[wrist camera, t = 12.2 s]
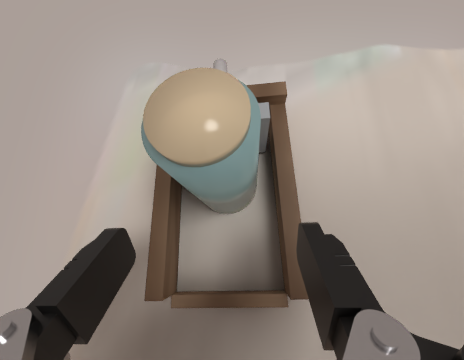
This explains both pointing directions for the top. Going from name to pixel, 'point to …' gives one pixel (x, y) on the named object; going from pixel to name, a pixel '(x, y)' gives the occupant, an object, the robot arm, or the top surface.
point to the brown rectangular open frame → (288, 216)
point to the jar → (206, 136)
